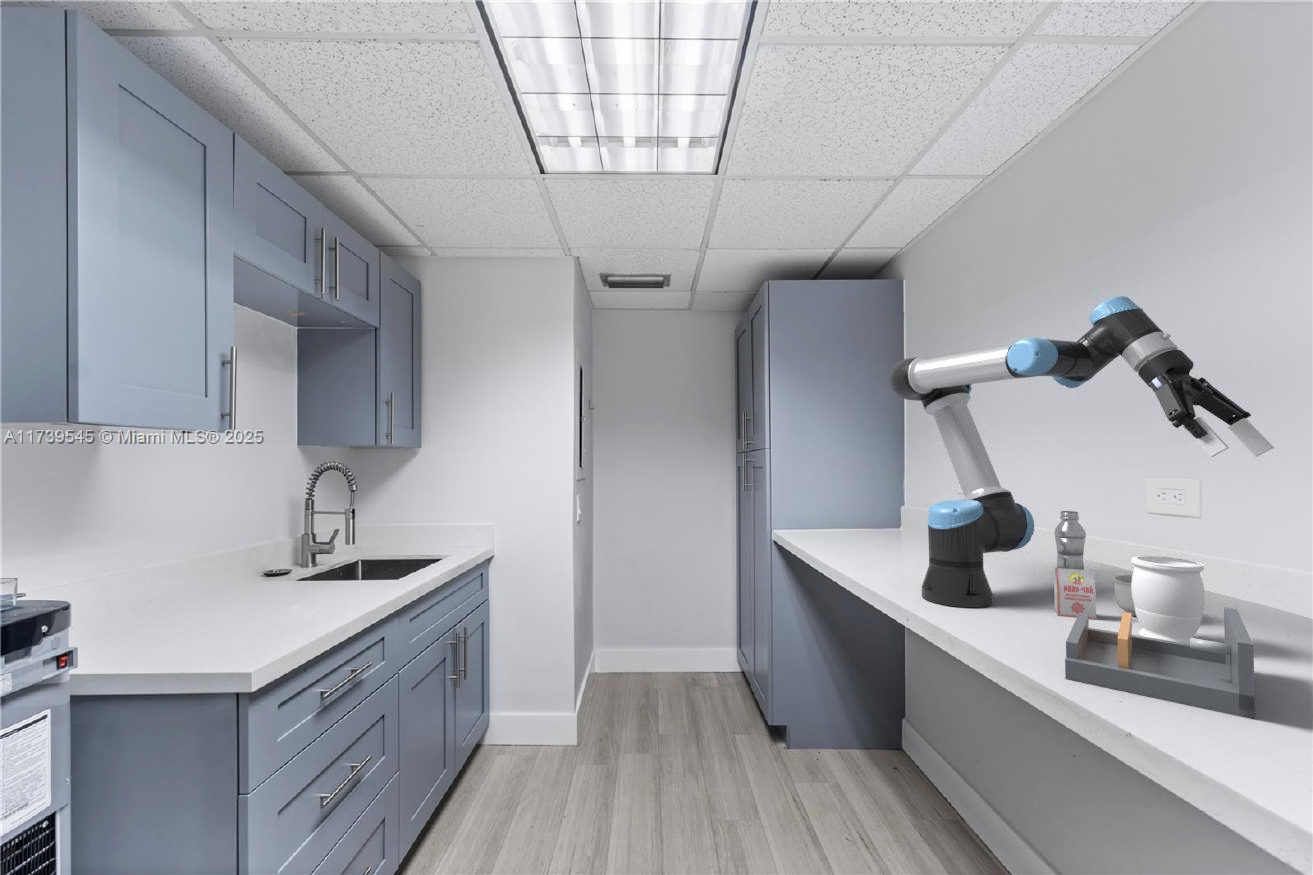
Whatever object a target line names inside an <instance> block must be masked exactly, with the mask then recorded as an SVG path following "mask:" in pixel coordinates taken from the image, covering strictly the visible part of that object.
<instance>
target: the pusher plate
mask: <svg viewBox="0 0 1313 875" xmlns="http://www.w3.org/2000/svg"><path fill="white" fill-rule="evenodd" d="M1132 617H1133V616H1132V613H1128V612H1126V611H1122V615H1121V620H1120V624H1119V628H1118V632H1119V633H1118V638H1117V639H1118V667H1121V668H1126V669H1130V662H1131V654H1132V635H1133V618H1132Z"/></svg>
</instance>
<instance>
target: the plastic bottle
mask: <svg viewBox="0 0 1313 875" xmlns="http://www.w3.org/2000/svg"><path fill="white" fill-rule="evenodd" d="M1059 518H1060V520H1061V521H1060V522H1059V523H1058V525H1057V526H1056V527H1055V528H1054V532H1053V534H1054V539H1055V545H1056V553H1057V555H1056V556H1057V557H1056V558H1057V559H1056V568H1062V569H1076V570H1085V564H1084V549H1085V543H1086V537H1087V533H1086V530H1085V529H1084V527H1083V526H1082V525H1081V523H1080V522H1079V520H1080V517H1079V512H1078V511H1072V510H1061V511H1060V517H1059ZM1054 581H1055V578H1054Z"/></svg>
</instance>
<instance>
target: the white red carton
mask: <svg viewBox="0 0 1313 875" xmlns="http://www.w3.org/2000/svg"><path fill="white" fill-rule="evenodd" d="M1054 579H1055V580H1054V586H1053V590H1054V591H1053V592H1054V595H1053V596H1054V613H1055V614H1056V616H1057V617H1064V618H1075V619H1077V616H1078V615H1084V616H1088V620H1093V621H1096V620H1097V600H1096V599H1097V595H1096V593H1097V592H1096V583H1095V573H1094V570H1087V569H1084V570H1076V569H1062V568H1057V567H1055V568H1054Z"/></svg>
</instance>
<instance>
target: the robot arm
mask: <svg viewBox="0 0 1313 875" xmlns="http://www.w3.org/2000/svg"><path fill="white" fill-rule="evenodd" d="M1089 321H1090V323H1091V325H1092V328H1090V329H1089V330H1088V331H1087V332H1086V333H1084V334H1083V335H1082V336H1081V337H1080V338H1078V340H1076V341H1072V340H1071V341H1070V340H1061V339H1060V340H1058V339H1050V338H1049V339H1046V338H1041V337H1032V338H1029V337H1028V338H1022V339H1019V340H1018V341H1016V342H1015V343H1013V344H1008V345H1007V344H1006V345H1001V346H996V347H990V348H985V349H984V348H983V349H979V350H973V351H968V352H962V353H958V354H956V353H955V354H950V355H945V356H939V357H935V358H929V357H927V356H918V357H908V358H907V357H906V358H904V359H902V360H900V361H898V362H897V363H895V365H894V366H893V367H892V369H891V371H890V373H889V385H890V388H891V390H892V391H893V393H895V395H897V396H898V397H900V398H901V399H904V400H907V401H916V402H917V401H919V402H920V401H921V403H922V407H923V408H924V411H925V413H926V414H928V415H930V416H933V418H934V420H935V423H936V425H937V428H938V431H939V434H940V435H941V436H940V437H941V438H942V441H943V444H944V446H945V449H946V451H947V453H948V456H949V459H950V461H951V463H952V464H951V465H952V466H953V469H954V472H955V475H956V477H957V479H958V482H959V485H960V487H961V490H962V493H963V495H964V499H955V500H951V499H950V500H943V501H938V502H935V503H933V504H932V505H931V506H930V507H929V509H928V518H927V529H928V530H927V532H928V536H927V537H928V567H927V571H926V573H925V575H924V579H923V581H922V584H921V597H922V598H923V599H924V600H926V601H929V602H933V603H936V604H939V605H940V604H941V605H945V606H951V607H958V608H960V607H961V608H983V607H989V606H991V605H993V592H992V589H991V586H990V583H989V581H988V578H987V576H986V573H985V572H986V571H985V570H984V554H986V553H987V554H989V553H999V552H1000V553H1001V552H1003V553H1005V552H1007V553H1008V552H1010V551H1014V550H1019V549H1021V548H1023V547H1025V546H1026V545H1028V543H1029V542H1030V541H1031V539H1032V536H1033V535H1034V532H1035V521H1034V517H1033V515H1032V513H1031V512H1030V510H1029V509H1028V508H1027V507H1026V506H1023V505H1022V504H1020V503H1018V502H1015V499H1014V497H1013V495H1012V492H1011V491H1010V490H1008V489H1006V488H1004V487H1002V485H1001V483H1000V481H999V478H998V476H997V474H996V472H995V471H996V470H995V469H994V466H993V464H992V461H991V460H990V457H989V454H988V452H987V450H986V447H985V446H984V442H983V440H982V437H981V434H980V433H979V430H978V428H977V425H976V423H975V421H974V419H973V416H972V413H971V411H970V409H969V406H968V404H969V401H970V400H971V395H970V393H971V391H972V385H973V384H982V383H991V382H999V381H1006V380H1014V379H1025V378H1033V377H1034V378H1035V377H1051V378H1052V379H1053V380H1054V381H1055V382H1056V383H1057V384H1059V385H1060V386H1065V387H1066V388H1068V389H1075V388H1078V387H1080V386H1082V385H1083V384H1085V383H1086V382H1088V381H1090V380H1091V379H1093V377H1095V376H1096V375H1097V374H1098V373H1099V372H1101V371H1102V370H1103V369H1104V368H1105V367H1107V366H1108V365H1109V364H1110V363H1111V362H1113V361H1114V360H1115V359H1117V358H1118V357H1119V356H1121V357H1122V358H1123V359H1124V361H1125V362H1126V363H1127V364H1128V366H1129V367H1130V368H1131V369H1132V371H1134V372H1135V373H1138V377H1139V378H1140V379H1141V380H1142V381H1143V382H1144V383H1145V384H1146V385H1147V386H1148V387H1149V388H1150V389H1152V391H1153V392H1154V394H1155V396H1156V399H1157V400H1158V402H1159V404H1160V407H1161V409H1162V411H1163V412H1164V414H1165V417H1166V418H1167V420H1168V421H1169V422H1170V423H1171V425H1172V426H1173V427H1174V428H1176V429H1178V428H1180V427H1181V426H1182V427H1183V428H1184V430H1185V431H1187V433H1188V434H1189V435H1190V437H1192V438H1193V439H1194V441H1195V442H1196V443H1197V445H1199V446H1200V448H1202V449H1203V451H1204V452H1205V453H1206V455H1208V456H1209V457H1210V458H1213V457H1215V456H1217V455H1219V454H1221V453H1223V452H1224V451H1227V450H1229V449H1230V447H1229V445H1228V444H1227V443H1226V442H1225V441H1224V440H1223V439H1222V438H1221V437H1220V435H1219V434H1217V433H1216V432H1215V431H1214V429H1213V428H1212V427H1211V426H1210V425H1209V424H1208V423H1207V422H1206V421H1205V419H1203V417H1202V416H1197V414H1196V411H1195V409H1194V406H1195V407H1196V406H1200V407H1201V408H1202V409H1204V410H1205V411H1206V412H1209V413H1210V414H1211V415H1214V417H1217V418H1218V419H1219V420H1221V421H1223V422H1224V423H1225V424H1227V425H1229V426H1227V428H1228V429H1229V430H1230V432H1232V434H1233V435H1235V436H1236V437H1237V439H1238V440H1240V442H1241V443H1242V444H1243V445H1244V446H1245V447H1246V449H1247V450H1249V452H1250V453H1252V454H1253V456H1255V457H1259V456H1262V455H1263V454H1265V453H1267V452H1269V451H1270V450H1273V449H1274V448H1275V447H1274V445H1272V443H1271V442H1269V441H1268V439H1267V438H1266V437H1265V436H1263V434H1262V433H1261V432H1260V431H1259V430H1258V429H1257V428H1256V427H1255V426H1254V425H1253V424H1252V423H1251V422H1250V421H1249V420H1248V418H1250V417H1251V416H1252V414H1251V413H1250V412H1249V411H1246V410H1245V409H1243V408H1242V407H1241V406H1240V405H1238V404H1237V403H1235V402H1234V401H1233V400H1232V399H1230V398H1229V397H1228V396H1226V395H1225V394H1224V393H1222V392H1221V391H1219V390H1218V389H1217V388H1216V387H1214V386H1213V385H1212V384H1211V383H1210V382H1209V381H1207V379H1206V378H1204V377H1202V376H1201V377H1199V378H1196V377H1193V376H1192V375H1190V372H1191V371H1192V370H1193V369H1194V362H1193V361H1192V359H1190V357H1188V355H1187V354H1186V353H1185V352H1184V351H1183V350H1181V349H1179V348H1178V346H1177V345H1176V344H1175V342H1174V341H1172V340H1171V339H1170V338H1171V333H1165V332H1164V331H1163V330H1162V329H1161V328H1160V327H1159V326H1158V325H1157V324H1156V323H1155V322H1154V320H1152V319H1151V317H1150V316H1149V315H1147V313H1146V312H1145V311H1144V309H1143V308H1142V307H1140V306H1139V305H1138V304H1136V303H1135V302H1134V301H1133V300H1132V299H1131V298H1130V297H1127V296H1124V295H1122V296H1121V295H1119V296H1114V297H1111V298H1109V299H1106V300H1104V301H1102V302H1101V303H1099V304H1098V305H1097V306H1096V307H1095V308H1094V309H1093V310H1092V313H1090V314H1089Z"/></svg>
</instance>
